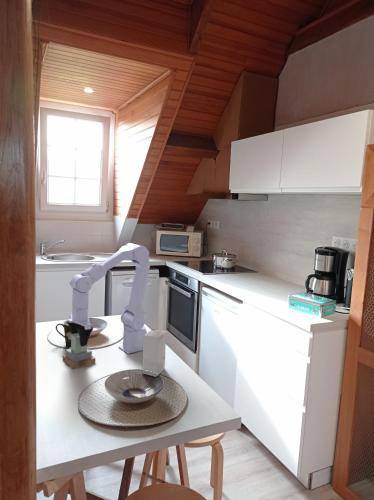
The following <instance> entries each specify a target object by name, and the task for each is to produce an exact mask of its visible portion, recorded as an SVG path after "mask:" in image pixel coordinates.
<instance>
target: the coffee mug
mask: <svg viewBox="0 0 374 500" xmlns="http://www.w3.org/2000/svg"><path fill="white" fill-rule="evenodd" d="M67 321H69V319H66V320H64V321H63V323H57V324H55V330H56V332H57V333H58V334H59V335H60V336H61V337H63V338H64V339H65V340H64V341H65V342H64V343H65V348H67V347H71V331H70V328H69V325H68V324H67ZM58 326H62V327H63V331H64V332H63V333H64V334H63V333H61V332H60V331H59V330H58ZM81 327H82V325H81ZM81 327H80V328H81Z"/></svg>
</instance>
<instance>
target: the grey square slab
mask: <svg viewBox="0 0 374 500" xmlns="http://www.w3.org/2000/svg"><path fill="white" fill-rule="evenodd" d="M64 355H65V356H66V357H68V358H69V359H70V360H72V361H73V362H78V361H81V360H85V359H88V358H92V356H93V350H91V349H89V348H87V351H86V352H81V353H76V354H75V353H74V352H73V351H72V350H71V348H67V349H65V354H64Z"/></svg>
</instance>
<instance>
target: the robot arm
mask: <svg viewBox="0 0 374 500" xmlns="http://www.w3.org/2000/svg"><path fill="white" fill-rule="evenodd" d="M125 261H131V262H132V263H133V265H134V266H135V272H134V277H133V282H132V287H131V292H130V296H129V302H128V304H127V305H125V307H124V310H123V312H122V314H121V316H120V321H121V323H122V324H123V325H122V326H123V333H122V335H123V337H122V345H119V346H118V348H119V349H121V350H123V352H125V353H127V354H128V355H129V354H132V353H136V352H137V353H138V352H141V351H143V339H144V335H145V334H147V333H148V331H147V329H146V328H145V323H146V320H145V314H146V313H145V310H144V309H143V303H144V298H145V293H146V287H147V283H148V278H149V272H150V267H151V262H150V251H149V250H148V248H147V247H146V246H144V245H139V244H135V243H133V242H128V243H126V244H125V245H123V246H121V247H120V248H119V249H118V251H116V252H115V253H113V254H112V255H111V256H109V257H108V258H106V260H104V261H103V262H102V263H101V262H100V263H99V262H96V263H95V262H94V263H92V264H91V266H90V267H89V268H87V269H86V270H83V271H81V272H80V274H75V275H73V277H71V280H70V281H69V285H70V287H71V288H72V294H71V295H72V301H71V303H72V304H71V313H70V314H69V319H68V320H69V321H67V324H68V325H69V328H70V331H71V334H76V333H79V337H80V345H81V346H86V345H87V346H88V341H89V338H90V336H91V334H92V332H93V330H94V327H92V324H91V323H90V319H89V292H90V290H91V289H92V287H93V285H94V284H95V283H97V282H98V281H100V280H101V279H102V278H104V277H105V276H106V275H107V273H108V272H107V271H109V270H110V269H112V268H113V267H116V266H117V265H119V264H120V263H122V262H125ZM81 325H82V327H81ZM80 327H81V328H80Z"/></svg>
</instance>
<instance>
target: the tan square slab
mask: <svg viewBox="0 0 374 500" xmlns="http://www.w3.org/2000/svg"><path fill="white" fill-rule="evenodd" d="M62 360H63V362H65V363H66V364H67V365H68V366H69V367H70V368H71V369H72V370H73V369H77V368H81V367H85V366H90V365H93V364H96V358H95V357H94V355H92V358H88V359H85V360H81V361H78V362H73V361H72V360H70V359H69V358H68V357H66V356H65V354H62Z"/></svg>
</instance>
